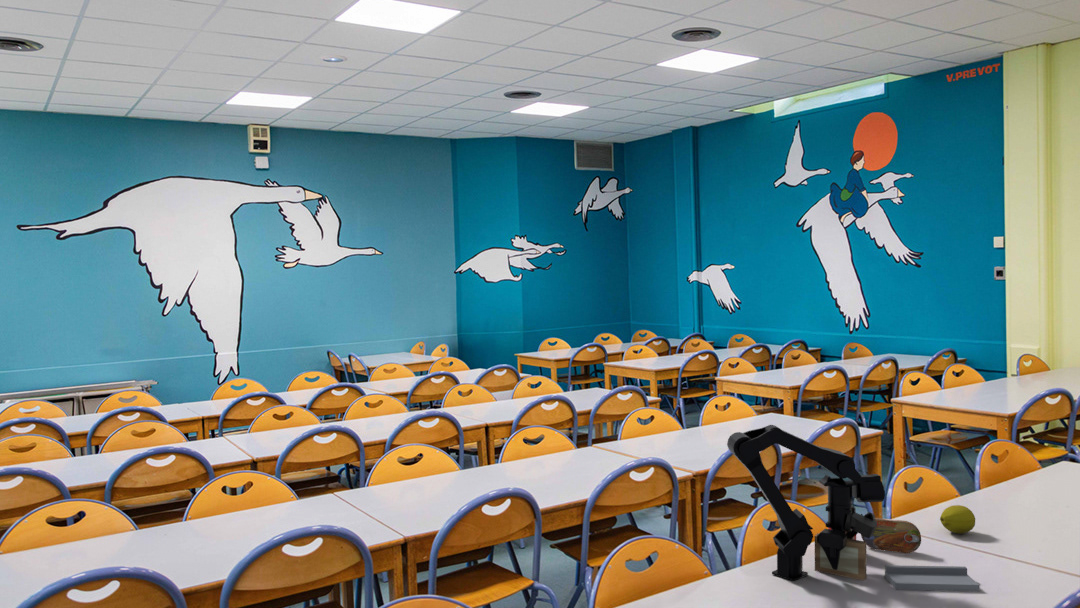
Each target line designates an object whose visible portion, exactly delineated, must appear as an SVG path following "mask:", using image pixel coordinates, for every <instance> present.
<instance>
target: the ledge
mask: <svg viewBox="0 0 1080 608" xmlns="http://www.w3.org/2000/svg"><path fill="white" fill-rule="evenodd" d="M884 578H885V579H886V580H887V581H888V582H889V583H890V584H891V585H892V587H893V588H894V589H895V590H899V591H901V590H902V591H907V590H909V591H945V592H946V591H948V592H949V591H953V592H954V591H956V592H959V591H960V592H980V584H979V583H978V582H977V581H975V580H974V579H973V578H972V577H971V576H970V575H969V574H968V568H967V567H966V566H956V565H955V566H953V565H951V566H948V565H947V566H946V565H944V566H943V565H893V564H892V565H889V564H886V565H884Z"/></svg>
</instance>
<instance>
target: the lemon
mask: <svg viewBox="0 0 1080 608" xmlns="http://www.w3.org/2000/svg"><path fill="white" fill-rule="evenodd" d="M939 520H940V522H941V525H942V526H943V527H944V529H946V530H947V531H949V532H951V533H954V534H958V535H959V534H961V535H962V534H967V533H969V532H970V531H972V530H973V529H974V527H975V525H976V517H975V514H974V512H973V511H972V510H971V509H970V508H969V507H966V506H964V505H960V504H959V505H958V504H955V505H950V506H948V507H946V508H944V510H943V511H942V513H941V515H940V517H939Z"/></svg>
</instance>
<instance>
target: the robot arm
mask: <svg viewBox="0 0 1080 608" xmlns="http://www.w3.org/2000/svg"><path fill="white" fill-rule="evenodd" d="M776 444H777V445H779V446H781V447H783V448H785V449H788V450H790V451H792V452H794V453H796V454H798V455H800V456H803V457H805V458H807V459H810V460H811V461H813V462H815V463H817V464H818V465H820V466H821V467H823V468H824V469H826V470H827V471H828V472H830V473H832V474H833V475H834V476H836V477H831V476H830V475H828V474H825V475H824V476H823V477H822V478H820V480H819V481H818V483H819V484H821V485H822V486H824V487H827V505H826V506H825V512H827V521H826V522H825V528H824V529H823V530H821V531H820V532H819V533H818V535H817V543H819V545H820V546H821V547H822V548H823V550H824V552H825V554H826V556H827V558H828V560H829V562H830V564H831V566H832V569H834V570H837V569H838V564H839V558H840V552H841V550H842V549H844V548H845V547H846V545H847V544H846V542H847V538H848V539H853V537H854V536H855V535H856V536H857V535H858V534H859V535H860V536H861V535H863V536H864V537H866V538H870V537H871V536H872V535H873V533H874V531H875V528H876V526H877V521H875V518H876V516H875V513H873V512H870V511H868V512H866V513H865V514H862V513H858V512H856V509H857V508H856V507H855V505H853V499H855V500H856V501H857V503H882V502H884V500H885V498H886V490H885V488H884V484H883V482H882V477H881V475H879V474H878V473H872V474H871V473H870V474H860V473H859V471H858V469H856V463H855V460H854V459H853V458H852V457H851V456H849V455H847V454H846V453H844V452H842V451H840V450H836V449H832V448H829V447H823V446H819V445H816V444H813V443H811V442H809V441H807V440H805V439H804V438H801V437H798V436H796V435H794V434H792V433H790V432H788V431H785V430H784V429H781V428H780V427H779V426H777V425H776V424H775V425H773V424H768V425H766V426H764V427H761V428H756V429H752V430H751V429H750V430H748V431H744V432H740V431H737V432H733V433H732V434H731V435H730V436H729V437H728V439H727V443H726V445H727V446H726V447H727V449H728V450H729V452H730V453H732V455H733V456H734V458H736V459H737V460H738V461H739V462H740V463H741V464H742V465H743V466H744V468H746V469H747V471H748V472H749V474H750V476H751V477H752V478H753V481H754V482H755V483H756V484H757V486H758V488H759V490H760V491H761V492H762V495H763V496H764V497H765V499H766V501H767V502H768V504H769V505H770V508H771V509H772V510H773V512H774V513H775V516H776V519H777V522H778V525H779V527H780V530H779V531H778V532H777V533H776V534H774V536H773V537H772V539H773V542H774V544H775V546H776V547H777V551H776V562H777V563H776V570H773V571H771V574H772V575H774V576H778V577H781V578H784V579H786V580H790V581H792V582H795V581H797V580H799V579H801V578H803V577H806V576H808V572H807V571H804V570H803V569H804V567H803V557H805V556H806V552H807V551H808V547H809V546H811V544H812V542H813V539H814V534H813V532H812V530H814V528H813V527H812V526H811V525H810V524H809V522H808V521H807V520H808V519H807V518H806V515H805V514H804V513H802V512H801V511H800V510H799V509H798V508H795V509H794V510H793V509H792V508H791V506H790V505H789V503H788V502H787V500H786V499H785V497H784V495H783V493H782V492H781V491H780V489H779V488H778V486H777V484H776V483H775V482H774V480H773V478H772V476H771V475H770V473H769V472H768V470H767V469H766V467H765V466H764V463H763V460H762V455H761V453H760V452H763V451H765V450H766V449H768V448H770V447H772V446H773V445H776ZM847 478H848V479H849V480H844V479H847ZM828 528H831V529H832V530H831V529H828Z"/></svg>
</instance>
